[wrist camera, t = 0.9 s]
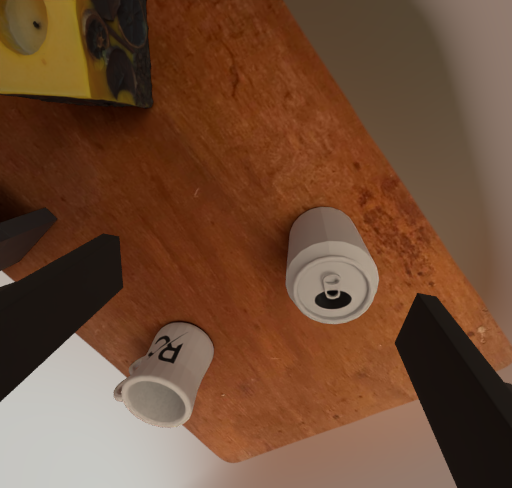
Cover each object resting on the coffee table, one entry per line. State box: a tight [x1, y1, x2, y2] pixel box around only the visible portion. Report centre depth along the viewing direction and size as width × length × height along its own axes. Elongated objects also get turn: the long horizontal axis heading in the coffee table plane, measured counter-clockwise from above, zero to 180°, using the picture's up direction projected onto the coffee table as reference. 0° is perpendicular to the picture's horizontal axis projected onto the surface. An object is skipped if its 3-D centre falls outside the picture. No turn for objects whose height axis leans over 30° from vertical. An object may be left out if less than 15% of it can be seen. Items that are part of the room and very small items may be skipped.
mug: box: [114, 322, 214, 428], centre depth 38 cm, size 12×9×10 cm
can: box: [286, 207, 379, 324], centre depth 27 cm, size 8×8×12 cm
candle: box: [0, 0, 153, 109], centre depth 23 cm, size 10×10×10 cm
